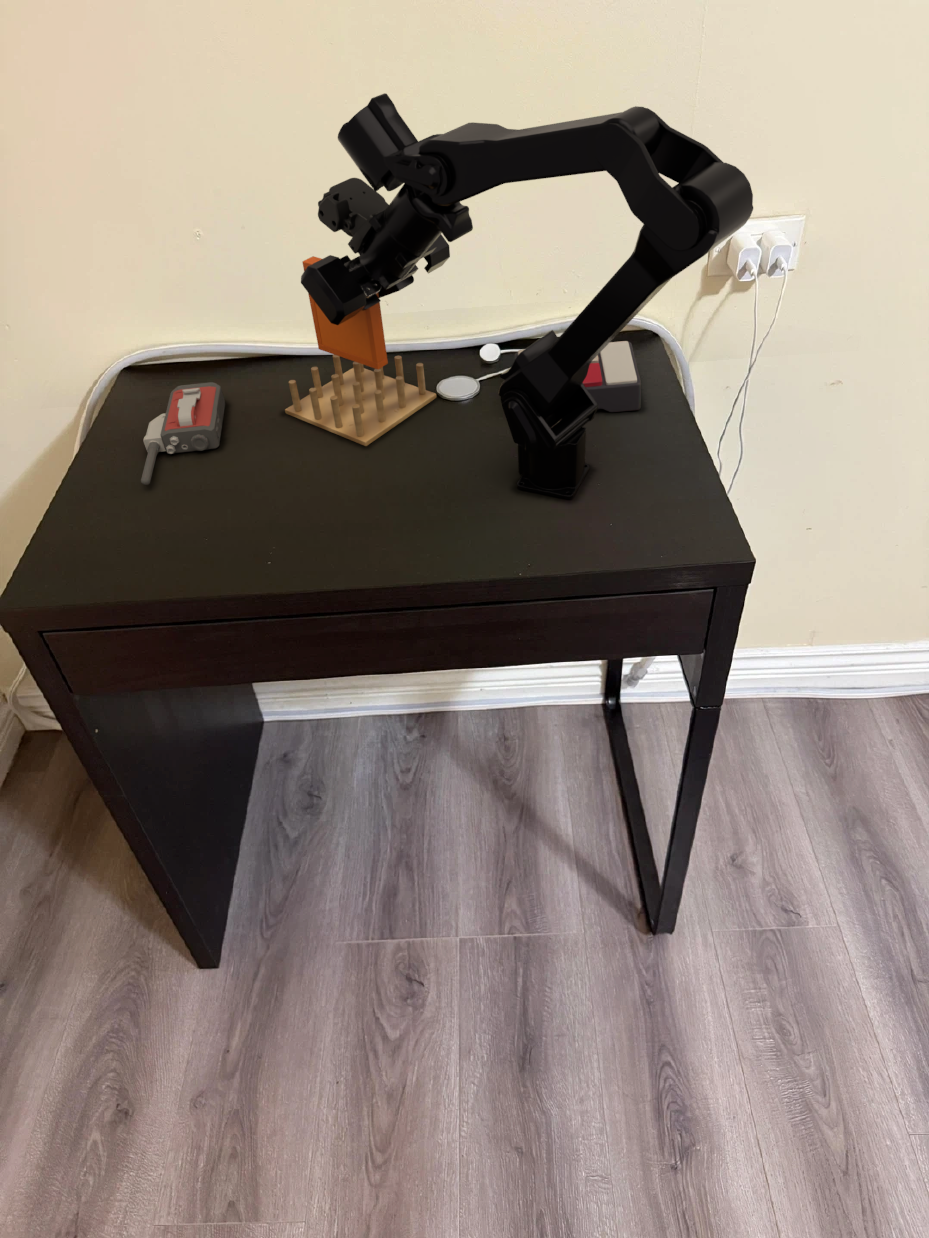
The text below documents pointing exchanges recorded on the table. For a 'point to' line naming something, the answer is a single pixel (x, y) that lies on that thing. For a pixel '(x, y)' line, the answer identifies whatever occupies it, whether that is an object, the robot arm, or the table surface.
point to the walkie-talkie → (185, 423)
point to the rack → (360, 401)
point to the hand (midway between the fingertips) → (348, 305)
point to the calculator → (614, 378)
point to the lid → (351, 333)
